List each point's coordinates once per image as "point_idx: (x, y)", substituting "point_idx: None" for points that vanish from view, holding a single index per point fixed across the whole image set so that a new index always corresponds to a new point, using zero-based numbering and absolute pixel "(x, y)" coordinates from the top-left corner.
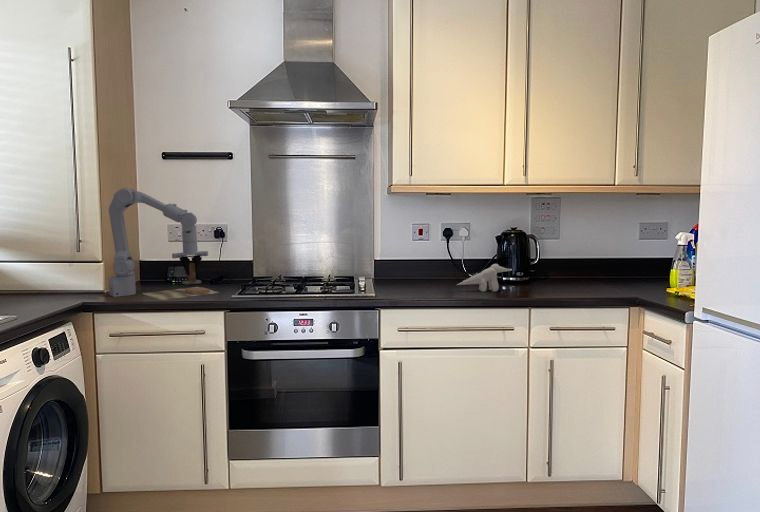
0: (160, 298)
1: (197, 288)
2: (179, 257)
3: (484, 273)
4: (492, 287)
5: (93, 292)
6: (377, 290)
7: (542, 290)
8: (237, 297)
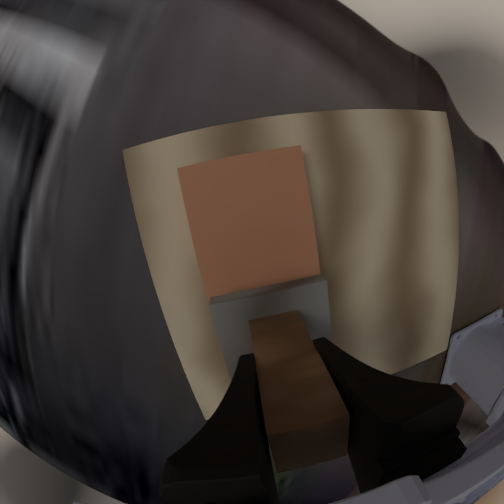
0: (445, 159)
1: (244, 258)
2: (477, 441)
3: None
4: None
5: None
6: None
7: None
8: (92, 34)
